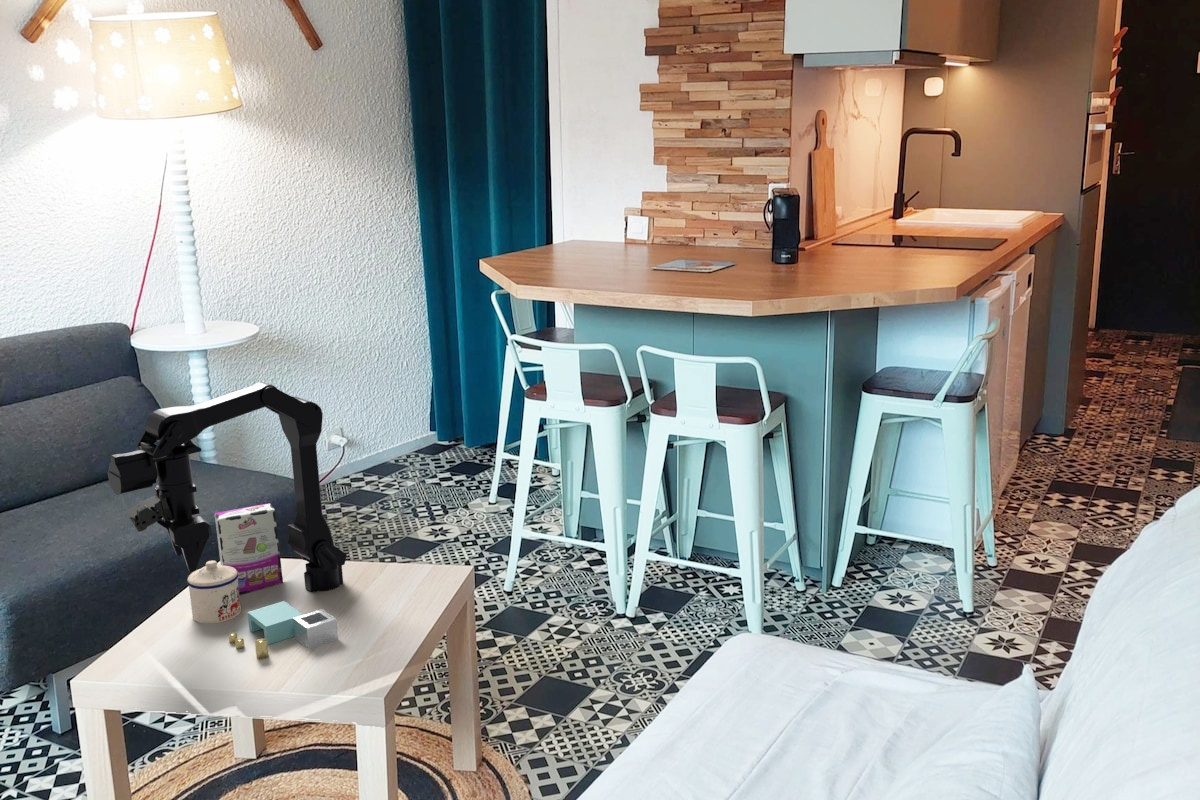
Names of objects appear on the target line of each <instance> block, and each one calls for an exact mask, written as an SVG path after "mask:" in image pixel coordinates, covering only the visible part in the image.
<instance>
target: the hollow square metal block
mask: <svg viewBox="0 0 1200 800" xmlns="http://www.w3.org/2000/svg"><path fill="white" fill-rule="evenodd" d="M337 622H338V621H337V618H336V617H334V616H333V615H331V614H330V613H328V612H327V611H325V610H324V609H323V608H321V609H316V610H314V611H311V612H308V613H305V614H303V615H301V616H298V617H295V618H293V626H294V639H295V640H296V641H298V643H301V645H303V646H304V647H305V648H307V649H308V650H311V649H313V648H317V647H319V646H322V645H325V644H328V643H330V642H333V641H337V640H339V634H338V625H337V624H338V623H337Z"/></svg>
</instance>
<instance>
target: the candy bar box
mask: <svg viewBox="0 0 1200 800" xmlns="http://www.w3.org/2000/svg"><path fill="white" fill-rule="evenodd" d="M276 516H277V515H276V510H275V508H274V507H273V505H272V504H271V503H270V502H269V503H264V504H263V503H262V504H258V505H252V506H247V507H241V508H234V509H229V510H225V511H219V512H214V520H215V528H216V535H217V545H218V553H219V562H220V565H224V566H230V567H233V568H235V569H236V570H237V572H238V587H239V595H243V594H249V593H253V592H256V591H259V590H264V589H267V588H270V587H274V586H277V585H280V584H283V583H284V580H283V579H284V578H283V571H282V561H281V553H280V544H279V534H278V533H279V532H278V526H277V517H276Z"/></svg>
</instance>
